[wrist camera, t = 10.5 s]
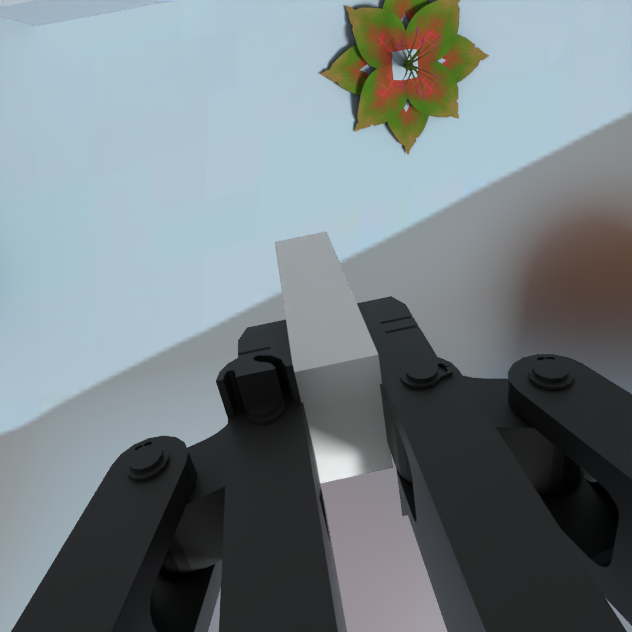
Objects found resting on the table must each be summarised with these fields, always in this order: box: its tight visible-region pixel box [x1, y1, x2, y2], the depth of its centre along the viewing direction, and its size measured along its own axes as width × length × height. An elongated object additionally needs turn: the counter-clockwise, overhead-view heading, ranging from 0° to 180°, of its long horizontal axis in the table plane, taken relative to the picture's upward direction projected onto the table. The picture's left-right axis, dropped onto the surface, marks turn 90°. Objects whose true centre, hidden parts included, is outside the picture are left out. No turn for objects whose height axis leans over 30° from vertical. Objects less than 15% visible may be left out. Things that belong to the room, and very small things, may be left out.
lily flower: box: [321, 0, 489, 154], centre depth 36 cm, size 12×12×5 cm
